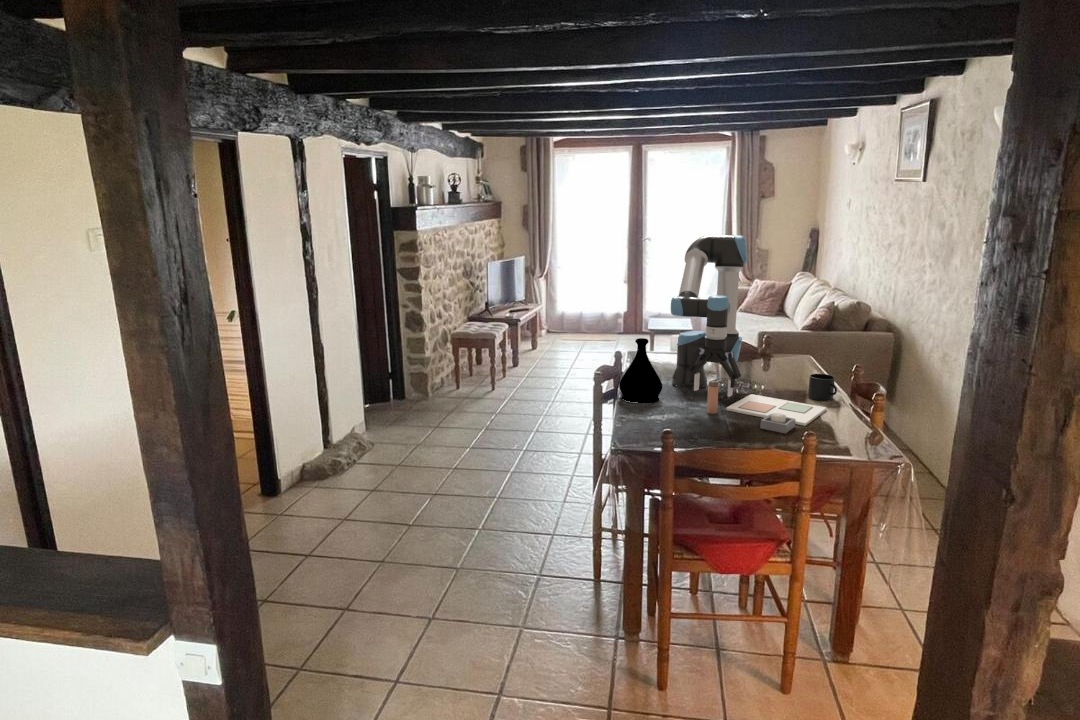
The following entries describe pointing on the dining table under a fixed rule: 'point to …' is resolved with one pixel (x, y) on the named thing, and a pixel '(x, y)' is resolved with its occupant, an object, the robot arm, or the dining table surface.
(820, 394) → the mug
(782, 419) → the button
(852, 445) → the dining table surface
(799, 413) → the picture board
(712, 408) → the marker
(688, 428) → the dining table surface
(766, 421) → the button box
